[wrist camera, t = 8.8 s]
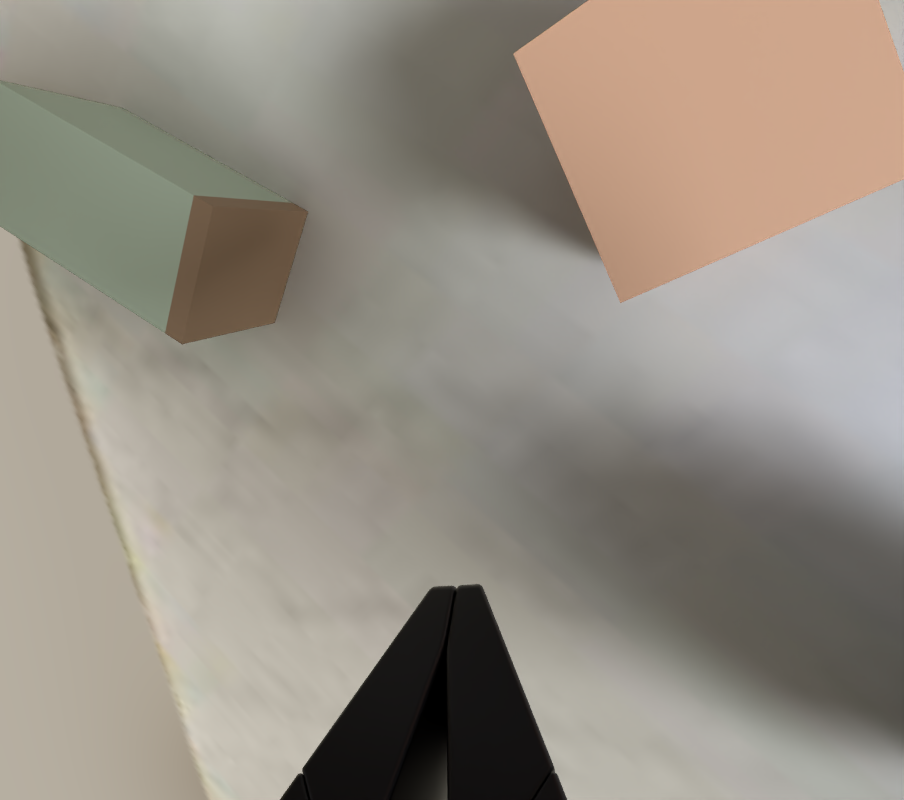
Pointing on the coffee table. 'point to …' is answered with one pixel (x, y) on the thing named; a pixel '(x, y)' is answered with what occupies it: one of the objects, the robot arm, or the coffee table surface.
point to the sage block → (143, 215)
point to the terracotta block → (714, 122)
